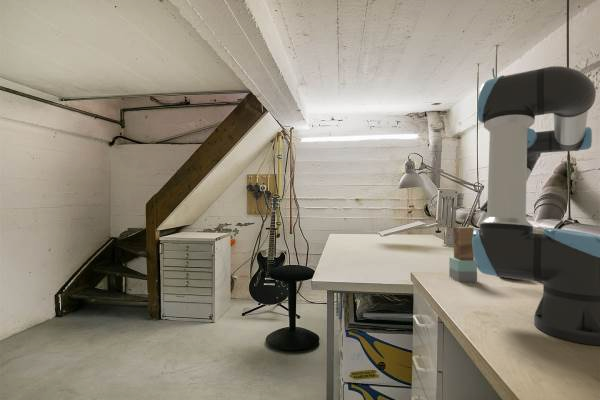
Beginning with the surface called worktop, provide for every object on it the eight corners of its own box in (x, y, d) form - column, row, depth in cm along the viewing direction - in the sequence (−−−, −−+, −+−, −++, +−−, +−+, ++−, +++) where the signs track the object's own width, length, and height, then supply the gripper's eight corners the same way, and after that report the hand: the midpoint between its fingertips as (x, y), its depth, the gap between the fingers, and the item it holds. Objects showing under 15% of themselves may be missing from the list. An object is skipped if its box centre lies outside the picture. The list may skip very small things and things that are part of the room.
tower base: (477, 282, 121) (477, 271, 121) (458, 282, 121) (458, 271, 121) (466, 277, 128) (466, 267, 128) (449, 277, 128) (449, 267, 128)
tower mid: (476, 271, 121) (476, 260, 121) (457, 271, 121) (457, 260, 121) (467, 267, 128) (467, 257, 128) (449, 267, 128) (449, 257, 128)
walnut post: (473, 259, 122) (473, 227, 122) (460, 260, 122) (460, 228, 121) (466, 257, 127) (466, 226, 127) (453, 257, 126) (453, 226, 126)
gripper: (551, 180, 112) (526, 233, 110) (500, 187, 137) (478, 231, 135) (534, 169, 112) (507, 222, 110) (485, 178, 137) (463, 222, 135)
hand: (491, 227), depth 122 cm, fingers open, 13 cm apart
